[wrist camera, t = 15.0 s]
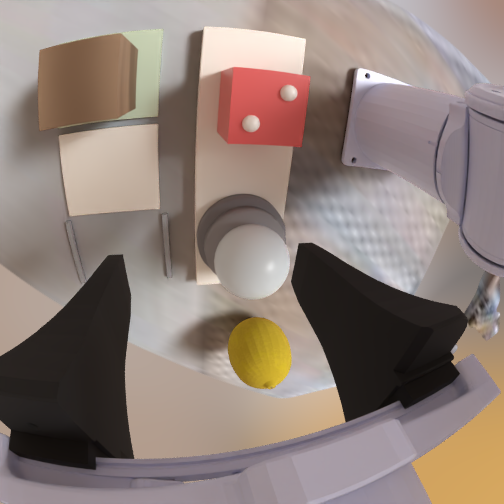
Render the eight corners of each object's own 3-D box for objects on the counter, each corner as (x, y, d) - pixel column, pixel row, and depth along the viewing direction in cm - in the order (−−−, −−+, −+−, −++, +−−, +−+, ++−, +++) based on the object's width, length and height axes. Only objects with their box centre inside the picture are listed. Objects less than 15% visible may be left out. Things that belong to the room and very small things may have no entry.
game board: (299, 40, 15) (312, 37, 14) (270, 271, 25) (277, 285, 24) (54, 46, 11) (42, 43, 9) (83, 284, 21) (78, 300, 20)
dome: (286, 205, 20) (316, 240, 16) (276, 271, 23) (298, 313, 19) (204, 207, 18) (214, 246, 14) (204, 277, 21) (213, 324, 17)
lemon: (216, 308, 26) (234, 380, 20) (273, 294, 27) (304, 360, 21) (226, 343, 29) (243, 409, 23) (276, 330, 30) (302, 392, 24)
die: (283, 76, 16) (314, 76, 12) (277, 134, 18) (304, 149, 14) (221, 71, 15) (235, 66, 11) (216, 131, 17) (229, 145, 13)
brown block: (138, 49, 13) (121, 33, 8) (135, 108, 15) (117, 118, 10) (78, 58, 12) (39, 50, 7) (77, 115, 14) (39, 131, 9)
